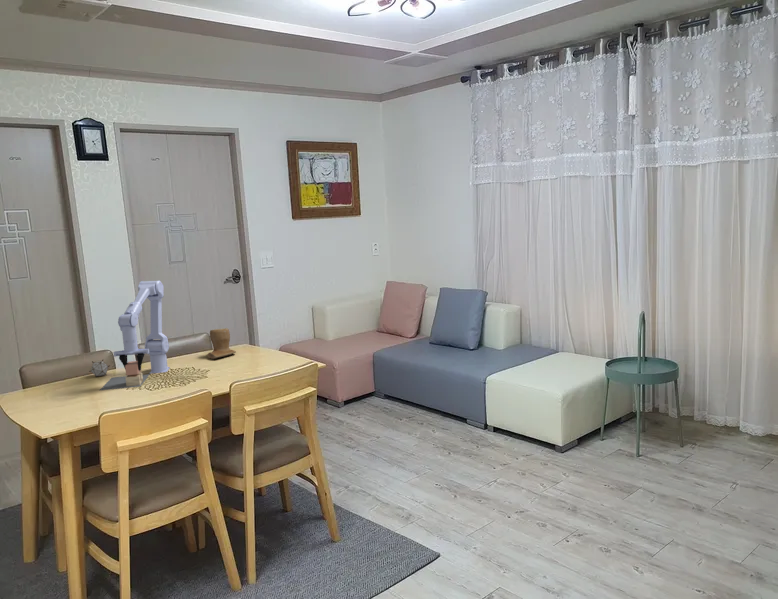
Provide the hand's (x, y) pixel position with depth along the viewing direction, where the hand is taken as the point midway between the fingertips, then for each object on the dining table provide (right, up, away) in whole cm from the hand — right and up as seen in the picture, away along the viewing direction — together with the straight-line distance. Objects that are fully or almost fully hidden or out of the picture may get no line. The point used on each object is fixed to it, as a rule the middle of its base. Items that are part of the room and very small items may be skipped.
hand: (133, 370), depth 272 cm
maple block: (0, -6, +1) cm, 6 cm away
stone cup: (+25, +2, +49) cm, 55 cm away
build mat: (-6, -6, +5) cm, 10 cm away
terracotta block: (0, -1, 0) cm, 1 cm away
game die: (-23, -5, +19) cm, 30 cm away
